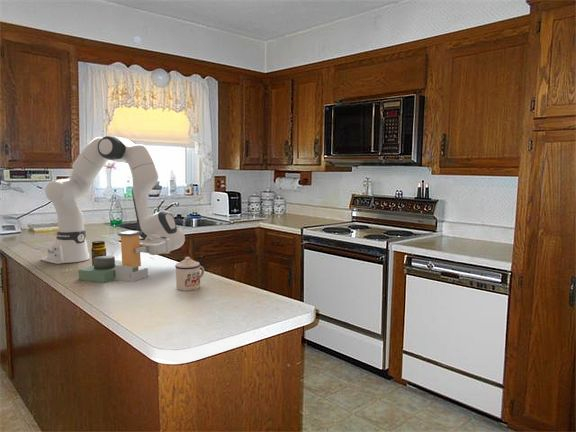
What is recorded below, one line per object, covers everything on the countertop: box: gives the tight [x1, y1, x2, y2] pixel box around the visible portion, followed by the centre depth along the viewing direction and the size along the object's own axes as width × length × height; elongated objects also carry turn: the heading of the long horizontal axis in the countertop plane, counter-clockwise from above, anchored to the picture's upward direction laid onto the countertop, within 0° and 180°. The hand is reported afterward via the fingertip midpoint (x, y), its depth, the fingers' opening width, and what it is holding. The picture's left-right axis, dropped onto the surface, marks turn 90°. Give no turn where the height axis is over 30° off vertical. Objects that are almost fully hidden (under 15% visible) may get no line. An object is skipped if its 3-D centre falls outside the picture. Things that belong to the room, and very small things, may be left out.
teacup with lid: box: [174, 256, 205, 292], centre depth 168 cm, size 12×9×12 cm
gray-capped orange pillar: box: [117, 230, 142, 268], centre depth 180 cm, size 6×6×14 cm
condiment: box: [90, 240, 107, 266], centre depth 197 cm, size 7×8×12 cm
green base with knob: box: [77, 255, 149, 284], centre depth 183 cm, size 22×19×8 cm
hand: (129, 249), depth 179 cm, fingers closed on gray-capped orange pillar, 5 cm apart
